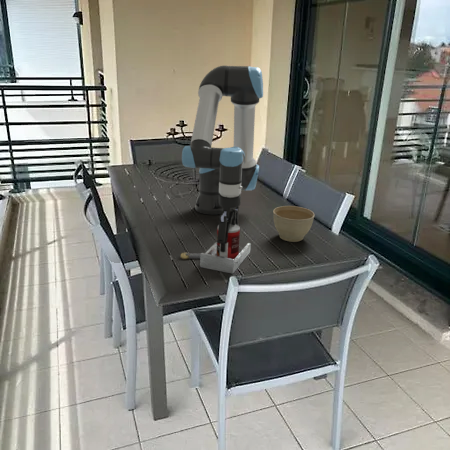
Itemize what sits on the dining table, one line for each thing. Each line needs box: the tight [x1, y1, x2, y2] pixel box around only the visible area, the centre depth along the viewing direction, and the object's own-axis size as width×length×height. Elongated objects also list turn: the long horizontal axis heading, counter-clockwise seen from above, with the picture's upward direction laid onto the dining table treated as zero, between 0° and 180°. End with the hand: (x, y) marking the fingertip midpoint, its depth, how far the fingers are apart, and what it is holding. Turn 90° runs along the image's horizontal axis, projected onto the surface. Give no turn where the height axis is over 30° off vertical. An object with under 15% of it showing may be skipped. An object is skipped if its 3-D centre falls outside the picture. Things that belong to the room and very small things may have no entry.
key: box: [180, 252, 202, 260], centre depth 162 cm, size 8×3×1 cm, turn 94°
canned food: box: [216, 224, 241, 259], centre depth 160 cm, size 8×8×11 cm
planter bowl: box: [272, 205, 315, 243], centre depth 180 cm, size 16×16×11 cm
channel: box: [199, 241, 252, 274], centre depth 161 cm, size 12×19×5 cm, turn 159°
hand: (227, 254), depth 162 cm, fingers closed on canned food, 8 cm apart
